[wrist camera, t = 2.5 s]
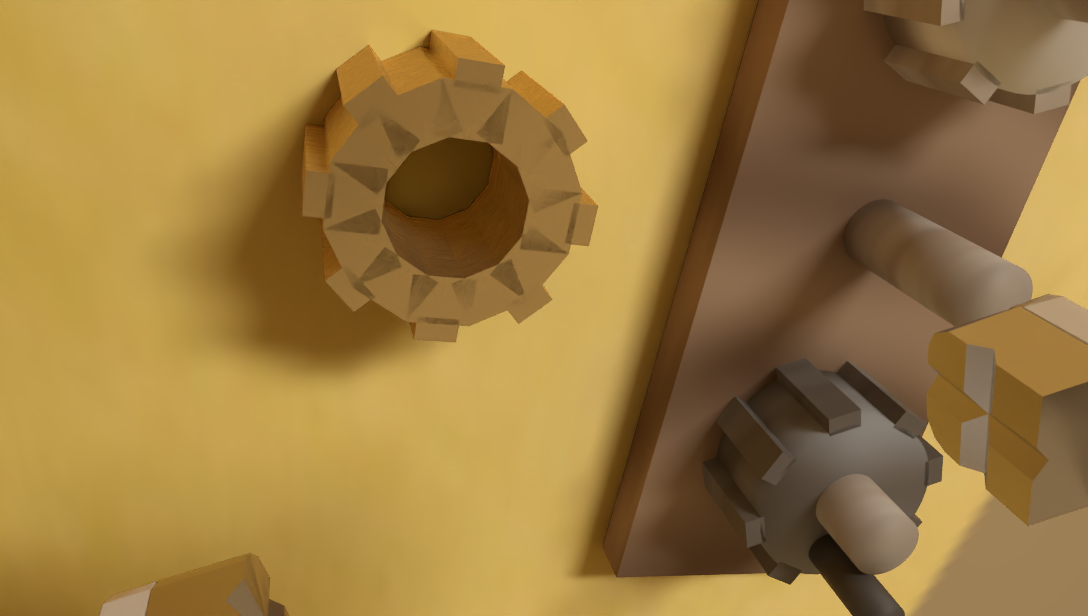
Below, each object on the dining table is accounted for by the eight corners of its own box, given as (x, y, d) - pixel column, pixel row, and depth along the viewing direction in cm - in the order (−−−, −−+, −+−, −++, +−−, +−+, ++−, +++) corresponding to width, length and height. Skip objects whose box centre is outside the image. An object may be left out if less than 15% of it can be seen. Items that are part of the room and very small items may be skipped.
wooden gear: (527, 284, 24) (564, 349, 21) (293, 263, 22) (291, 332, 19) (574, 55, 22) (626, 86, 18) (315, 9, 20) (318, 33, 16)
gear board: (840, 543, 33) (974, 705, 26) (602, 547, 29) (688, 731, 23) (1163, -221, 22) (1515, -268, 16) (854, -338, 19) (1135, -456, 13)
